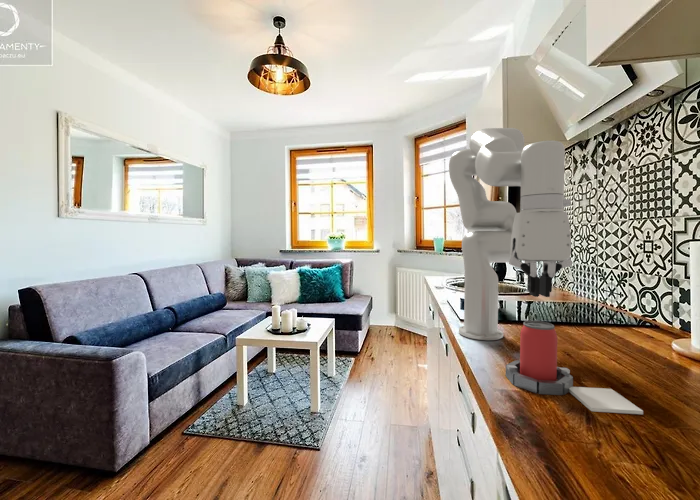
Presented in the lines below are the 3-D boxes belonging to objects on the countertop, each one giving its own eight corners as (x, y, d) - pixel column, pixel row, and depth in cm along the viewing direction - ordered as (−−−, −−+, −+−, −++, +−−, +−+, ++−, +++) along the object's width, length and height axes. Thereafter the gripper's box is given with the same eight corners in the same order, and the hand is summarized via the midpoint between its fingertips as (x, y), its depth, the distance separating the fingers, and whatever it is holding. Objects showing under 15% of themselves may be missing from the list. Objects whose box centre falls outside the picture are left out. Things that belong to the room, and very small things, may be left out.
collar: (499, 369, 73) (499, 356, 73) (554, 371, 71) (554, 358, 71) (518, 392, 62) (518, 377, 62) (584, 396, 60) (584, 381, 60)
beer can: (523, 372, 71) (524, 318, 71) (558, 380, 67) (559, 323, 67) (516, 382, 66) (517, 324, 66) (554, 392, 62) (555, 330, 62)
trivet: (566, 389, 63) (566, 386, 63) (611, 391, 62) (611, 388, 62) (591, 411, 55) (591, 407, 55) (643, 414, 54) (643, 410, 54)
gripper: (572, 206, 68) (570, 293, 69) (495, 207, 70) (493, 291, 71) (594, 203, 60) (591, 300, 61) (507, 204, 62) (505, 298, 63)
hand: (539, 295), depth 66 cm, fingers closed
